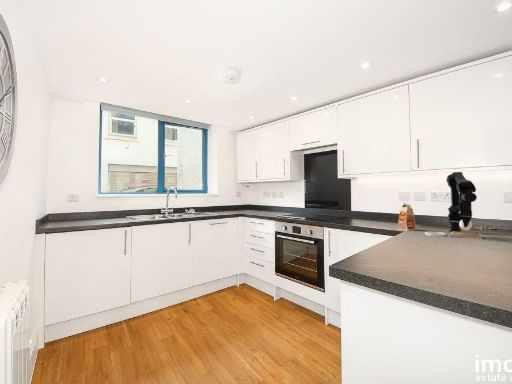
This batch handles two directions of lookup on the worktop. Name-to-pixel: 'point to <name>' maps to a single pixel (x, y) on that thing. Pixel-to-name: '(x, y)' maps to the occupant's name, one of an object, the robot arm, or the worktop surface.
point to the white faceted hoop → (435, 233)
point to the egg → (465, 227)
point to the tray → (466, 235)
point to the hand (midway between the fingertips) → (465, 226)
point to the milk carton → (406, 218)
